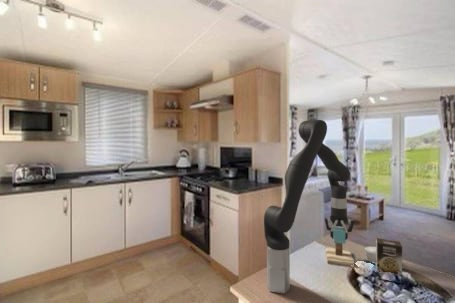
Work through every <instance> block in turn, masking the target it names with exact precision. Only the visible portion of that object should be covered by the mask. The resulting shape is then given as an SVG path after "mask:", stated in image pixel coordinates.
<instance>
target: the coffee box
mask: <svg viewBox="0 0 455 303" xmlns="http://www.w3.org/2000/svg"><path fill="white" fill-rule="evenodd" d="M375 247H376V264H375V269H376V268H377V270H378V271H379V272H391V273H394V274H399V275H402V276H403V245H402V243H401V242H400V241H396V240H391V239H384V238H378V237H376V238H375Z"/></svg>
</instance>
